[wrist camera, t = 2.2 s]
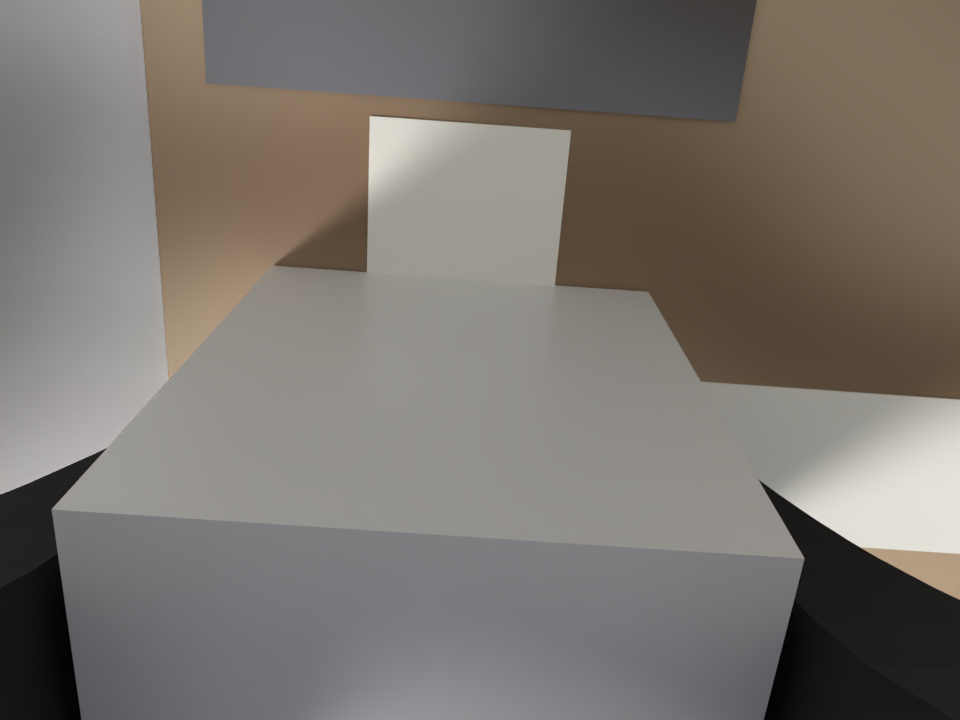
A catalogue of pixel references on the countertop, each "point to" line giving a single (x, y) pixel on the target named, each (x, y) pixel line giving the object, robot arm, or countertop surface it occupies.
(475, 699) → the grey block
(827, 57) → the board
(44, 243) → the countertop surface
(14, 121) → the countertop surface
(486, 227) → the letter T
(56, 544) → the robot arm
